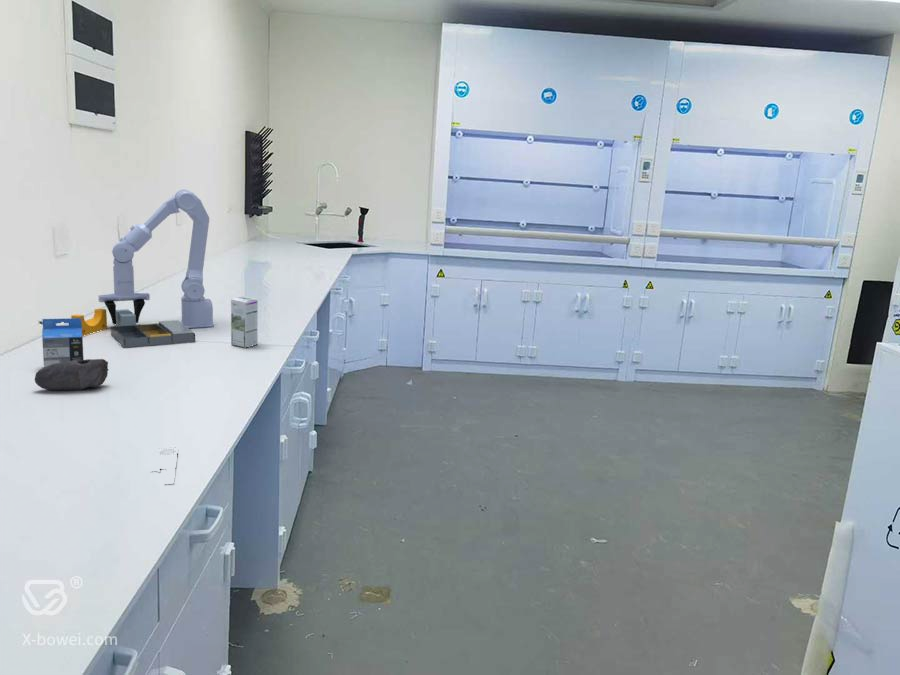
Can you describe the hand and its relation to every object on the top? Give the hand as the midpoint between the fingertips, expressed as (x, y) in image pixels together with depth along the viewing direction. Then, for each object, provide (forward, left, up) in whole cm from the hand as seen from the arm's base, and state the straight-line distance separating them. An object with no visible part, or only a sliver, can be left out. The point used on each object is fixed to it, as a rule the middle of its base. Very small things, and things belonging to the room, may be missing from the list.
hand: (125, 323), depth 215 cm
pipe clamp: (+11, +3, -2) cm, 12 cm away
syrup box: (-26, +34, -2) cm, 43 cm away
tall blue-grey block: (0, 0, -2) cm, 2 cm away
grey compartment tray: (-4, +17, -1) cm, 18 cm away
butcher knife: (+18, +110, -2) cm, 111 cm away
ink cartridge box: (+23, +39, -2) cm, 45 cm away
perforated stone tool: (+24, +58, -2) cm, 63 cm away
